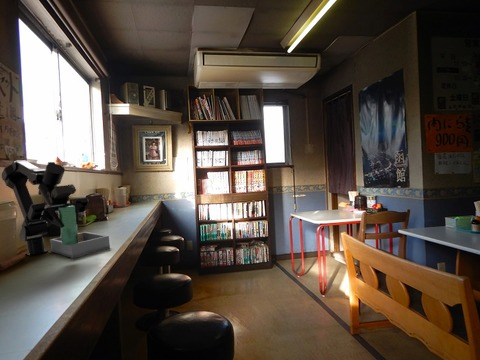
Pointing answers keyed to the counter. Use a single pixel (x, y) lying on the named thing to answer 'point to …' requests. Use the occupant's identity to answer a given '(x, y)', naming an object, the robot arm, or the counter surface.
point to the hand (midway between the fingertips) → (70, 225)
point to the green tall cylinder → (68, 225)
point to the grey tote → (81, 245)
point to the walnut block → (80, 237)
